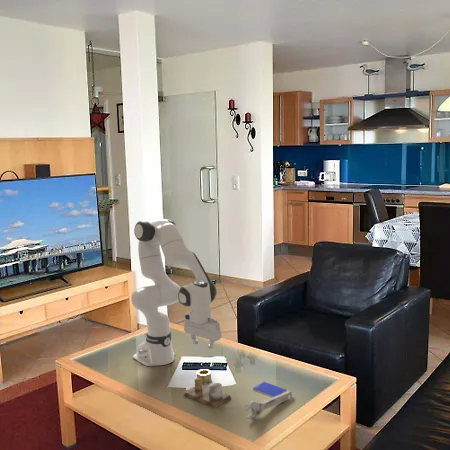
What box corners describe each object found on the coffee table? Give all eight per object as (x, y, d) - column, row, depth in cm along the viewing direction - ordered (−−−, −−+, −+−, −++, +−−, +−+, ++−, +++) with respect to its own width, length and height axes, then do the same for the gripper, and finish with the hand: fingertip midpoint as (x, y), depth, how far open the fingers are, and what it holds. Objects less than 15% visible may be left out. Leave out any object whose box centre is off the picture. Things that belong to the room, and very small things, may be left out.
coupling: (194, 381, 249) (193, 372, 248) (203, 376, 253) (203, 368, 253) (204, 384, 244) (204, 376, 244) (214, 379, 249) (213, 371, 249)
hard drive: (252, 387, 238) (275, 396, 230) (264, 381, 244) (286, 389, 235) (253, 391, 238) (275, 399, 230) (264, 384, 244) (286, 392, 236)
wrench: (291, 404, 230) (246, 424, 208) (288, 402, 232) (243, 423, 209) (292, 385, 230) (247, 404, 207) (289, 384, 231) (244, 403, 209)
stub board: (184, 395, 235) (183, 381, 234) (199, 386, 242) (199, 373, 241) (214, 407, 223) (214, 392, 222) (230, 398, 231) (230, 384, 230)
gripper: (223, 318, 240) (224, 348, 242) (190, 311, 253) (191, 339, 255) (214, 322, 235) (215, 353, 237) (181, 314, 248) (182, 343, 250)
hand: (203, 345), depth 246 cm, fingers open, 8 cm apart
